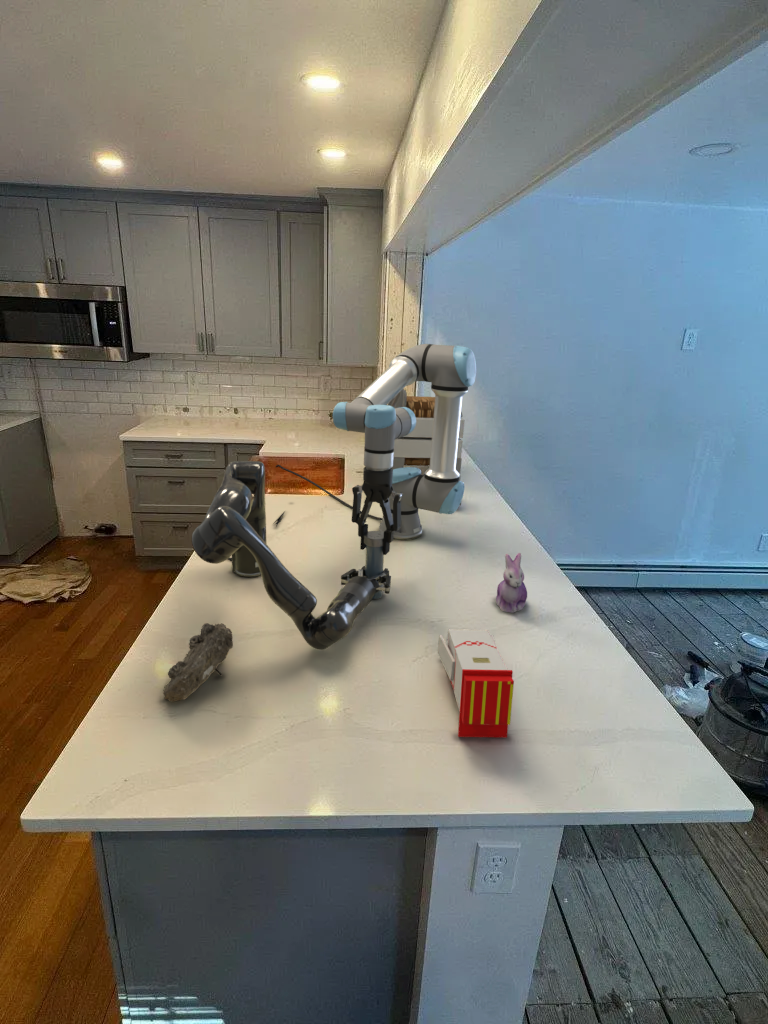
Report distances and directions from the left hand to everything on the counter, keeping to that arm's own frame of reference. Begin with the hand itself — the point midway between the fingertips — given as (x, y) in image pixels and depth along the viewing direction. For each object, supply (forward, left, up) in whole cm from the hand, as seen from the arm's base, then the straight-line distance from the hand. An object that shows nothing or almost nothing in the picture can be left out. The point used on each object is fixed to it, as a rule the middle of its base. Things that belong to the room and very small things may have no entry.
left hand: (377, 569), depth 157 cm
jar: (0, -3, -7) cm, 7 cm away
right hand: (0, -3, +7) cm, 7 cm away
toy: (+33, -34, -7) cm, 48 cm away
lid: (0, -3, +11) cm, 11 cm away
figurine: (+37, +7, -7) cm, 38 cm away
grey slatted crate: (-21, +123, -7) cm, 125 cm away
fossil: (-21, -50, -7) cm, 55 cm away
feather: (-52, +43, -7) cm, 68 cm away
